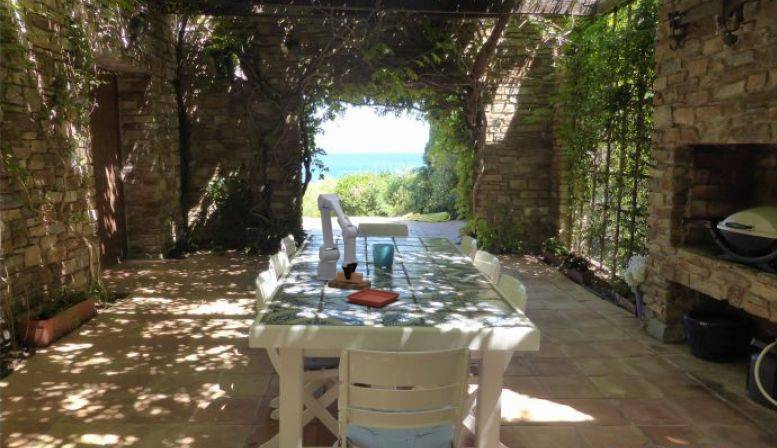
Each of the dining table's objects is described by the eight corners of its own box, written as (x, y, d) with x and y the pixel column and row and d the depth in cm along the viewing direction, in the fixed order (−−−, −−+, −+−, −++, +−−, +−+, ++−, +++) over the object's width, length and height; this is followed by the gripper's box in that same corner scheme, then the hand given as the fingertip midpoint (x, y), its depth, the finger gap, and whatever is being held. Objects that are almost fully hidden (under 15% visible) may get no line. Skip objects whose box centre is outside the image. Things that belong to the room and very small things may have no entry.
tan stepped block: (336, 286, 269) (336, 272, 268) (339, 285, 273) (339, 271, 272) (359, 289, 266) (360, 274, 265) (362, 287, 269) (363, 273, 268)
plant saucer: (367, 294, 258) (367, 287, 257) (401, 300, 249) (401, 293, 248) (345, 303, 242) (345, 296, 242) (380, 310, 233) (380, 302, 233)
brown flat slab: (327, 287, 268) (327, 282, 268) (335, 283, 276) (335, 278, 276) (364, 291, 262) (364, 285, 262) (371, 286, 271) (371, 281, 270)
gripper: (352, 254, 259) (351, 282, 261) (362, 249, 272) (362, 276, 274) (338, 253, 261) (338, 281, 263) (349, 248, 275) (349, 274, 276)
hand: (349, 278), depth 269 cm, fingers closed on tan stepped block, 4 cm apart
